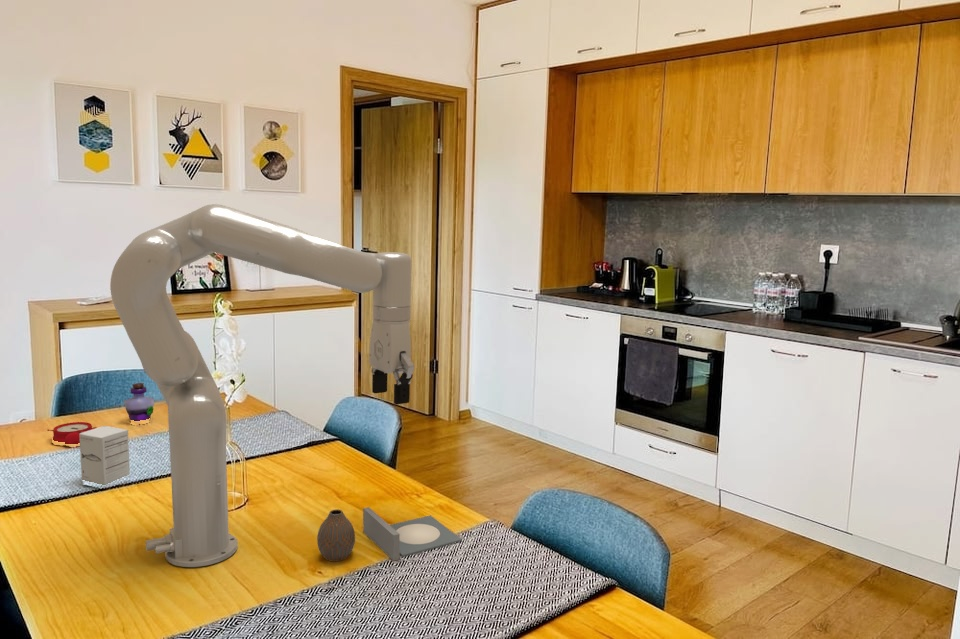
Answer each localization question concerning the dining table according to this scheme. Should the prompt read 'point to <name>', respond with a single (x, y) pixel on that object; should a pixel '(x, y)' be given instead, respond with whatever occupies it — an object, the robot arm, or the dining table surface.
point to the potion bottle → (139, 403)
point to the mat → (423, 535)
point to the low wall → (381, 533)
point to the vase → (336, 536)
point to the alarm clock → (70, 432)
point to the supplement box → (104, 454)
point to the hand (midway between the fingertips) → (390, 397)
